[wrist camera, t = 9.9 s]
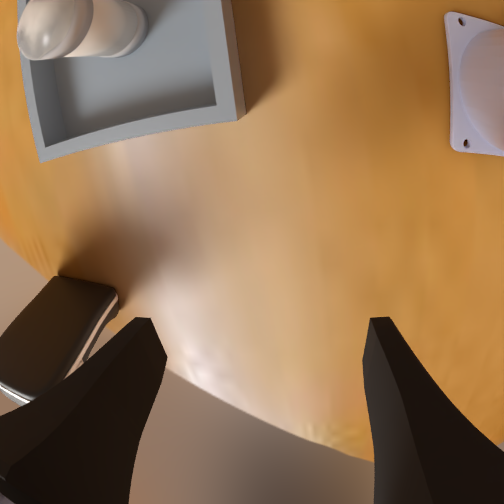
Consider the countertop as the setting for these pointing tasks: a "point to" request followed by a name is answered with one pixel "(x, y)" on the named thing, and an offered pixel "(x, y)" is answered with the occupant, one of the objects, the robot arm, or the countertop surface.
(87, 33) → the cylinder
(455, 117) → the robot arm
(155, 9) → the parts tray
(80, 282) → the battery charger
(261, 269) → the countertop surface
